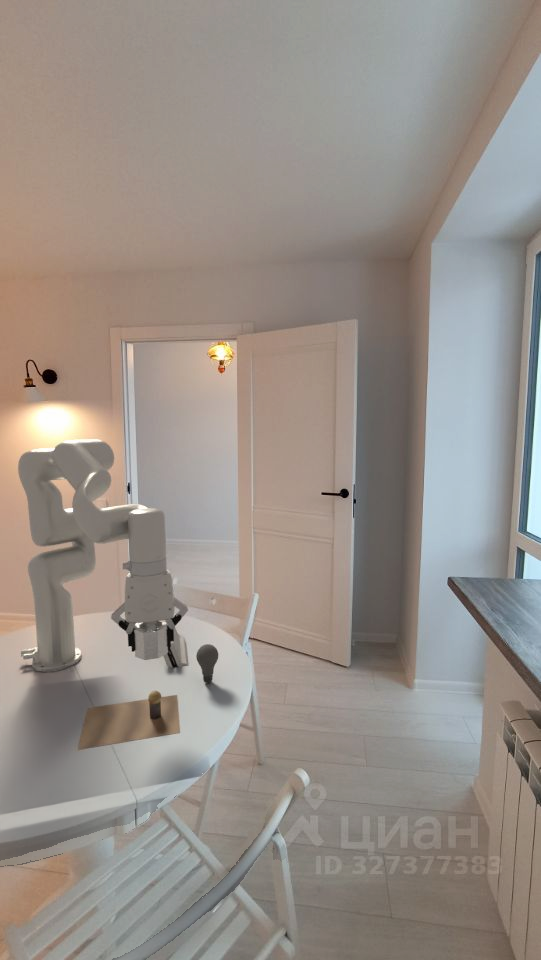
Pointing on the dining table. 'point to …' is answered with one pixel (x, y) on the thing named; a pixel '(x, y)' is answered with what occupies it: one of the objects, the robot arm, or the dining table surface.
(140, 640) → the white hollow octagonal cylinder
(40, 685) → the dining table surface
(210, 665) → the light bulb
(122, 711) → the keeper base
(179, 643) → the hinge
